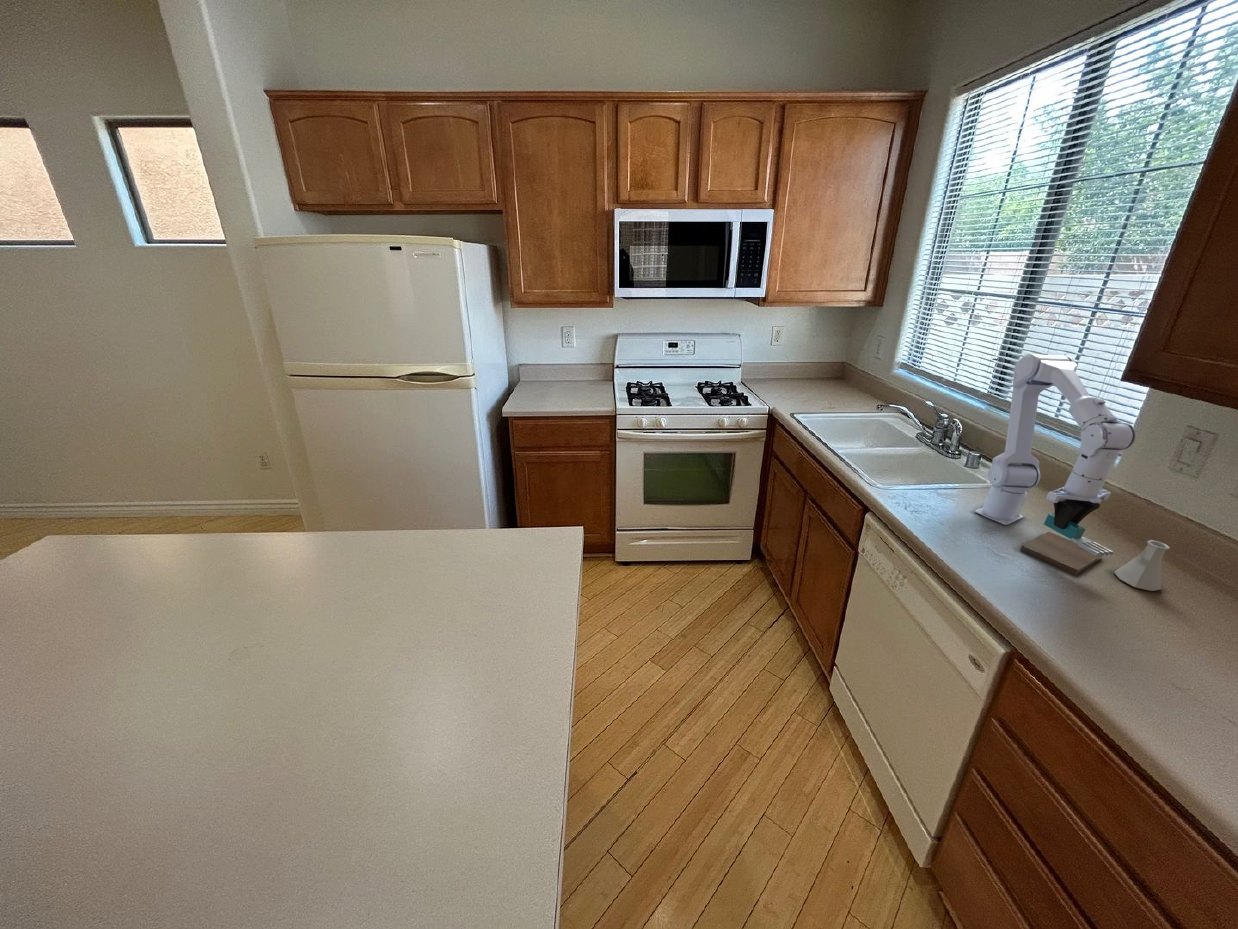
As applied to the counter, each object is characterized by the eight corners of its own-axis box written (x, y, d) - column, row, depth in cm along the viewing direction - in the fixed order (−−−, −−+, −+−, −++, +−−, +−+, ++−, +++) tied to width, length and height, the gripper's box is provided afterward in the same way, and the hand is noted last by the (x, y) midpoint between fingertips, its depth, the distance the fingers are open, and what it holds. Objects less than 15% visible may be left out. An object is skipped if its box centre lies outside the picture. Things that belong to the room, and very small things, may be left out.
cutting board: (1046, 536, 123) (1048, 531, 122) (1100, 558, 114) (1103, 553, 113) (1019, 550, 116) (1021, 545, 116) (1075, 575, 108) (1078, 570, 107)
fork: (1039, 524, 114) (1044, 513, 113) (1054, 523, 115) (1059, 512, 114) (1096, 556, 103) (1102, 544, 101) (1112, 554, 103) (1118, 543, 102)
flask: (1139, 572, 109) (1161, 536, 105) (1169, 593, 103) (1193, 555, 99) (1105, 570, 110) (1126, 533, 106) (1133, 590, 103) (1156, 552, 99)
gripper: (1080, 484, 101) (1053, 537, 106) (1135, 481, 103) (1107, 534, 108) (1048, 469, 107) (1024, 521, 113) (1101, 467, 109) (1075, 518, 115)
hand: (1063, 526), depth 111 cm, fingers closed on fork, 2 cm apart
